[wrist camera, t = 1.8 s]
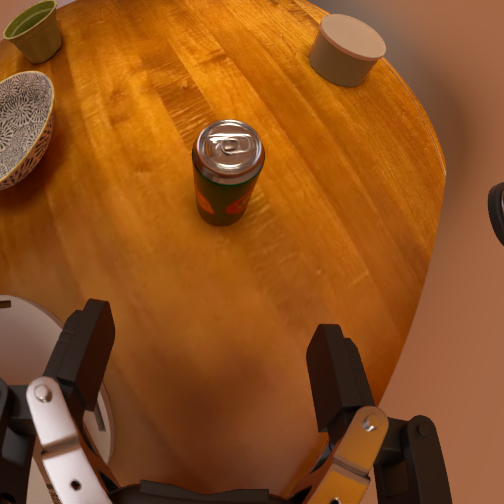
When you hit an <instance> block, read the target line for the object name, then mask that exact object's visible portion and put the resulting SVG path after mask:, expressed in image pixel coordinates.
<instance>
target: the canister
mask: <svg viewBox="0 0 504 504" xmlns="http://www.w3.org/2000/svg"><path fill="white" fill-rule="evenodd" d="M385 52H386V46H385V43H384V41H383V40H382V38H381V37H380V36H379V35H378V33H377V32H376V31H374V30H373V29H372V28H371V27H369V26H368V25H367V24H365V23H363V22H361V21H359V20H357V19H355V18H352V17H349V16H346V15H341V14H330V15H327V16H325V17H324V18H323V19H322V21H321V23H320V29H319V32H318V34H317V36H316V38H315V41H314V43H313V45H312V48H311V50H310V52H309V56H308V58H309V62H310V64H311V66H312V68H313V69H314V70H315V71H316V72H317V73H318V74H319V75H320V76H322V77H323V78H324V79H326V80H328V81H330V82H332V83H334V84H337V85H340V86H345V87H355V86H358V85H360V84H361V83H362V82H363V81H364V79H365V78H366V77H367V75H368V74H369V72H370V71H371V70H372V68H373V67H374V65H375V64H376V63H377V61H378V60H379V59H381V58H382V57H383V55H384V54H385Z"/></svg>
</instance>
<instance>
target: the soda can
mask: <svg viewBox="0 0 504 504" xmlns="http://www.w3.org/2000/svg"><path fill="white" fill-rule="evenodd" d="M264 161H265V150H264V146H263V144H262V142H261V139H260V137H259V135H258V133H257V132H256V131H255V130H254V129H253V128H252V127H251V126H249V125H248V124H246V123H244V122H242V121H238V120H233V119H225V120H219V121H216V122H214V123H212V124H210V125H209V126H207V127H206V128H205V129H204V130H203V131H202V133H201V134H200V135H199V136H198V137H197V139H196V140H195V143H194V145H193V148H192V162H193V173H194V184H195V194H196V203H197V208H198V211H199V213H200V215H201V216H202V217H203V218H204V219H205V220H206V221H208V222H209V223H211V224H214V225H219V226H224V225H229V224H232V223H234V222H236V221H237V220H239V219H240V218H241V216H242V215H243V214H244V212H245V209H246V207H247V204H248V202H249V200H250V197H251V195H252V192H253V190H254V187H255V185H256V182H257V180H258V177H259V175H260V172H261V170H262V167H263V165H264Z"/></svg>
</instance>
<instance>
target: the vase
mask: <svg viewBox="0 0 504 504" xmlns="http://www.w3.org/2000/svg"><path fill="white" fill-rule="evenodd" d="M6 301H11V308H1V309H0V378H2V379H3V380H4V381H5V383H6V384H7V385H28V384H30V383H31V382H32V381H33V380H34V379H36V378H38V377H41V376H42V375H43V373H44V371H45V369H46V366H47V364H48V361H49V359H50V356H51V354H52V352H53V349H54V347H55V345H56V342H57V341H58V338H59V336H60V333H61V332H62V329H63V327H64V324H63V323H62V322H61V321H60V320H59V319H58V318H57V317H56V316H54V315H53V314H52V313H51V312H49V311H48V310H46V309H45V308H44V307H42V306H40V305H38V304H37V303H35V302H33V301H30V300H28V299H25V298H21V297H17V296H8V295H0V302H6ZM97 400H98V404H99V407H100V411H101V415H102V418H103V422H104V425H105V426H104V425H103V422H102V418H101V415H100V411H99V408H98V404H97V402H96V406H95V410H94V412H90V411H86V410H85V412H84V416H83V420H84V422H85V424H86V427H87V429H88V431H89V433H90V435H91V437H92V439H93V441H94V443H95V445H96V447H97V449H98V451H99V453H100V455H101V457H102V459H103V460H104V462H105V463H106V465H108V464H109V461H110V459H111V456H112V452H113V447H114V421H113V414H112V410H111V405H110V402H109V398H108V395H107V392H106V389H105V387H104V384H103V382H102V383H101V387H100V391H99V394H98V398H97ZM42 451H43V448H42V445H41V442H40V439H39V437H38V435H37V436H36V441H35V446H34V451H33V456H32V462H31V469H30V475H29V483H28V491H27V501H26V504H53V501H52V499H51V496H50V493H54V494H56V491H55V489H54V487H53V485H52V483H51V481H50V479H49V476H48V474H47V472H46V469H45V467H44V465H43V462H42V459H41V452H42Z"/></svg>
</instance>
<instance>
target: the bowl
mask: <svg viewBox="0 0 504 504" xmlns="http://www.w3.org/2000/svg"><path fill="white" fill-rule="evenodd" d="M54 94H55V93H54V87H53V83H52V81H51V79H50V78H49V77H48V76H47V75H46V74H44V73H42V72H39V71H25V72H21V73H17V74H15V75H12V76H10V77H8V78H6V79H5V80H3V81H1V82H0V190H4V189H7V188H9V187H11V186H13V185H15V184H17V183H18V182H20V181H21V180H23V179H24V178H25V177H26V176H27V175H28V174H29V173H30V172H31V171H32V170H33V169H34V168H35V167H36V165H37V164H38V163H39V161H40V160H41V158H42V156H43V155H44V153H45V151H46V149H47V147H48V145H49V142H50V139H51V135H52V131H53V125H54Z"/></svg>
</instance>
